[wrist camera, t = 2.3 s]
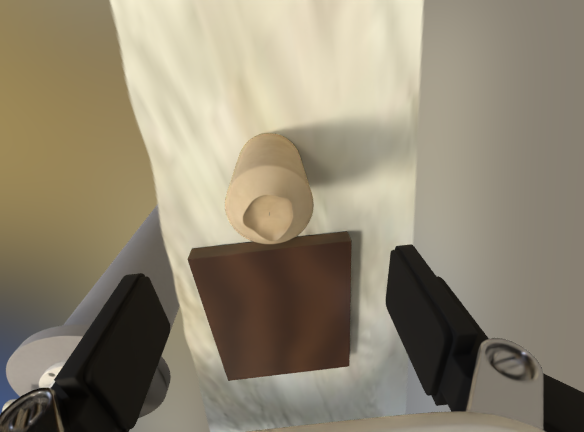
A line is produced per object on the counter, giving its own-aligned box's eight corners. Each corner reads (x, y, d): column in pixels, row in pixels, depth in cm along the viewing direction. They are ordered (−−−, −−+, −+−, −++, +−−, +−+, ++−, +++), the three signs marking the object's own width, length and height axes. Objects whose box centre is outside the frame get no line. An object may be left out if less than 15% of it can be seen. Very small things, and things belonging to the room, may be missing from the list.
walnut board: (229, 367, 39) (228, 380, 37) (191, 248, 29) (187, 259, 27) (346, 354, 39) (349, 366, 37) (347, 231, 29) (351, 240, 28)
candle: (301, 190, 27) (316, 254, 18) (242, 193, 26) (228, 260, 18) (300, 130, 24) (317, 171, 15) (234, 133, 24) (213, 177, 15)
